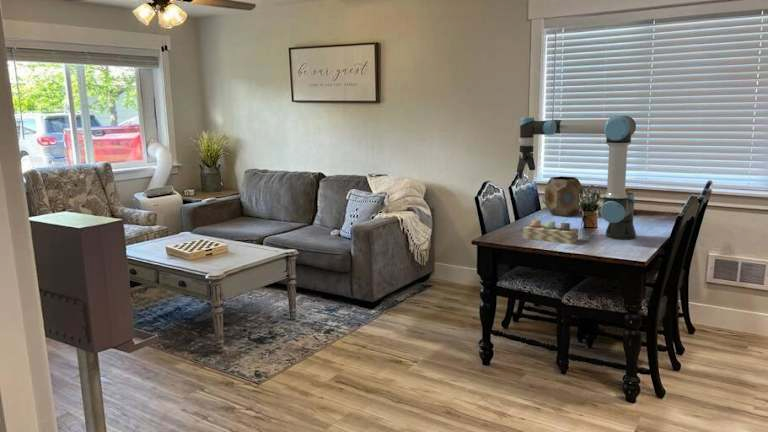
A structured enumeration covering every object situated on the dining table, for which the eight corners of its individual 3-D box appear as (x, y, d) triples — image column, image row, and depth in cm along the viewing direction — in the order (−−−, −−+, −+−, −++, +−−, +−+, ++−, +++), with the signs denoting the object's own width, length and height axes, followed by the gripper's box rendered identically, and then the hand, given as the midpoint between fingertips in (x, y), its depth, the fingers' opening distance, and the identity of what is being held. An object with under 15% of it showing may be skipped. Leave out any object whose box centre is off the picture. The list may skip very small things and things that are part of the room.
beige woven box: (577, 239, 307) (578, 228, 306) (570, 244, 297) (570, 232, 296) (531, 234, 322) (531, 223, 321) (522, 238, 313) (523, 227, 311)
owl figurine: (629, 216, 365) (631, 190, 361) (611, 214, 372) (612, 188, 369) (639, 212, 378) (640, 186, 375) (621, 210, 386) (622, 185, 382)
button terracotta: (541, 227, 314) (541, 220, 313) (538, 229, 310) (538, 221, 309) (533, 226, 316) (533, 219, 316) (530, 228, 313) (530, 221, 312)
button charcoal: (570, 230, 304) (571, 223, 304) (567, 232, 301) (568, 224, 300) (562, 229, 307) (562, 222, 306) (559, 231, 303) (559, 224, 303)
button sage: (556, 229, 309) (556, 221, 308) (553, 230, 305) (553, 223, 305) (547, 228, 312) (548, 221, 311) (544, 229, 308) (544, 222, 307)
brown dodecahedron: (539, 215, 376) (540, 179, 371) (553, 209, 395) (554, 175, 390) (573, 218, 362) (574, 181, 358) (585, 212, 381) (587, 176, 377)
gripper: (529, 143, 332) (528, 180, 336) (510, 146, 313) (510, 185, 317) (541, 143, 328) (540, 180, 332) (523, 146, 308) (523, 186, 312)
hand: (525, 183), depth 324 cm, fingers open, 13 cm apart
